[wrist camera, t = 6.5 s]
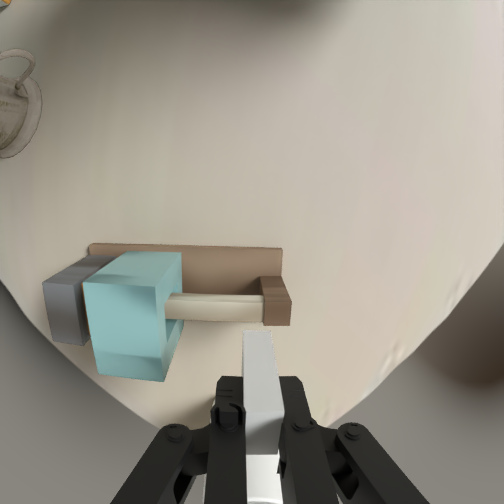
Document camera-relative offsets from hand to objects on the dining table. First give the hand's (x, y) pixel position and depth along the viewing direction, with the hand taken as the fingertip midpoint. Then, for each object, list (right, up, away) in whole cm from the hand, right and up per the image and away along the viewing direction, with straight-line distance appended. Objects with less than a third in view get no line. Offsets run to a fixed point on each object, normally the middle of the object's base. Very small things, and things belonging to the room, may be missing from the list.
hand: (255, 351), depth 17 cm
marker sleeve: (-9, +2, +11) cm, 14 cm away
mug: (-26, +22, +9) cm, 35 cm away
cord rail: (-7, +3, +13) cm, 16 cm away
